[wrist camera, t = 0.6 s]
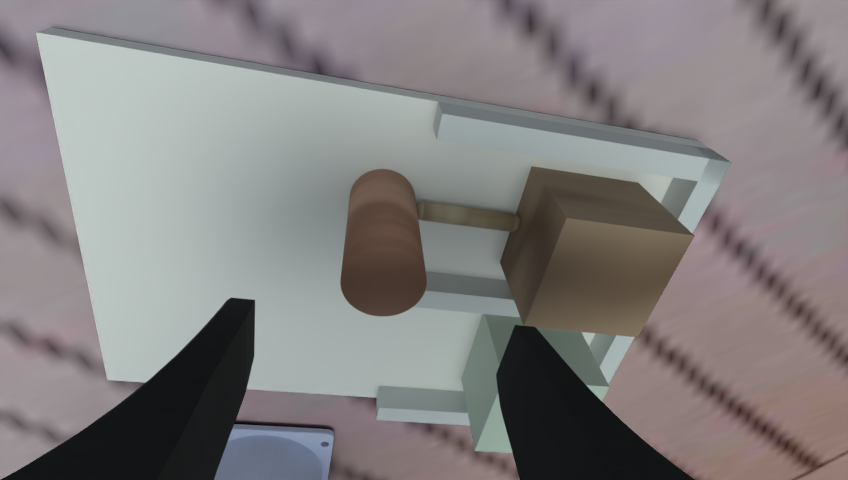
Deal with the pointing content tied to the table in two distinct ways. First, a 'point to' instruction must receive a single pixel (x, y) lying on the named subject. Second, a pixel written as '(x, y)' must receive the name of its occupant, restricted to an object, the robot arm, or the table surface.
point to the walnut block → (524, 249)
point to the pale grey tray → (309, 212)
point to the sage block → (485, 366)
